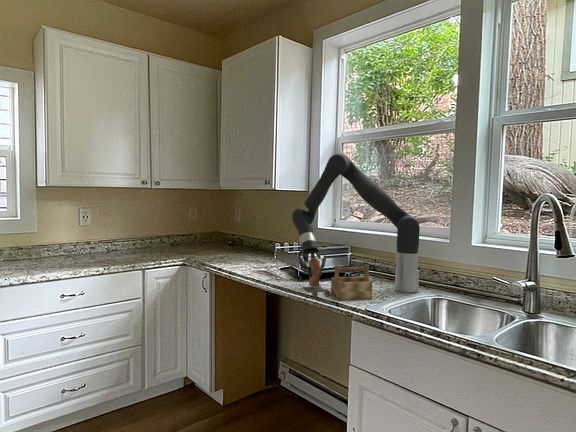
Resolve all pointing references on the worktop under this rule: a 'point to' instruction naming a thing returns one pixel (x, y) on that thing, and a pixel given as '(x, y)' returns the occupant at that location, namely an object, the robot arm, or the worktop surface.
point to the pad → (317, 288)
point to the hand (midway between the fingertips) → (315, 276)
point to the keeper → (324, 293)
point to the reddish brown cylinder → (314, 272)
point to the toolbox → (351, 284)
